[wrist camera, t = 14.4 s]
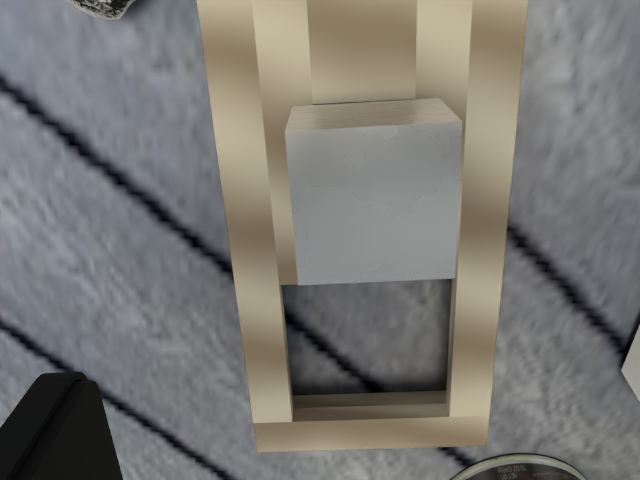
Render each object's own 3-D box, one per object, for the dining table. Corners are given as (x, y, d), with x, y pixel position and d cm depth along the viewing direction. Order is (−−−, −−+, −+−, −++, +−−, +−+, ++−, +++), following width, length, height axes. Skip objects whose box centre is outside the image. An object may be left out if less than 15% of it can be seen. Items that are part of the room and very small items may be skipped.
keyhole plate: (472, 403, 32) (486, 445, 29) (263, 410, 32) (257, 452, 29) (504, -20, 23) (529, -21, 20) (213, -3, 23) (196, -2, 20)
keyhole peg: (423, 191, 27) (469, 291, 18) (298, 197, 27) (283, 299, 18) (425, 60, 24) (481, 102, 15) (288, 68, 24) (265, 114, 16)
